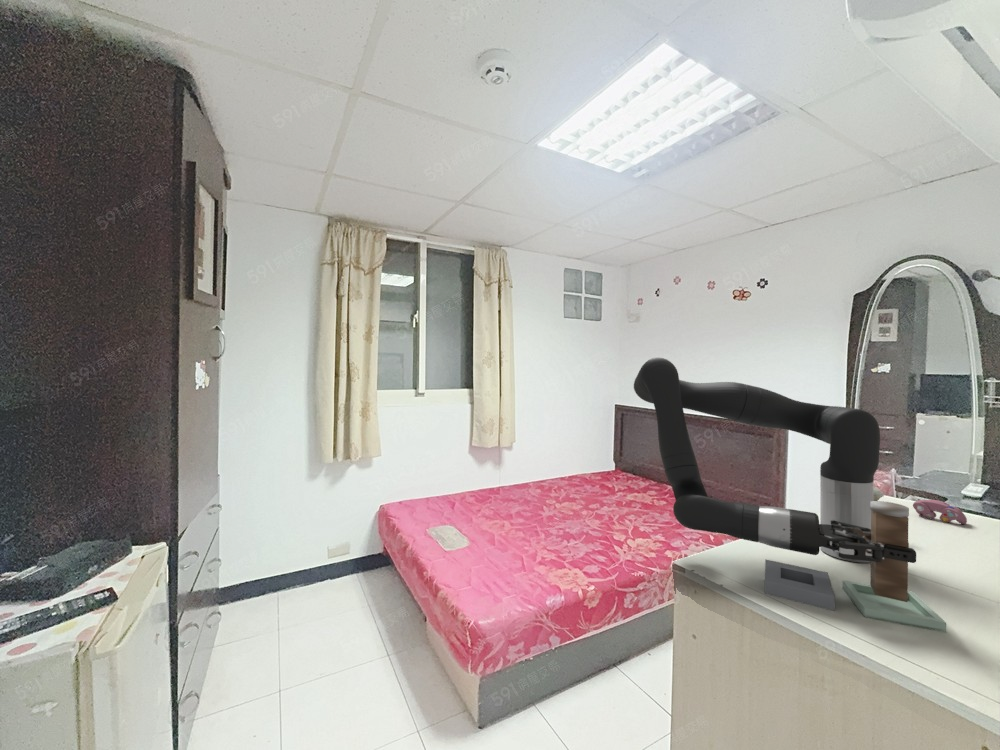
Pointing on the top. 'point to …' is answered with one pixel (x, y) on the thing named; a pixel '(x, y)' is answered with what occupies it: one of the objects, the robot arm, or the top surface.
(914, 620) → the sage green tray
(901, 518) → the dark wooden pin
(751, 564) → the top surface
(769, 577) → the charcoal holder
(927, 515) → the video game controller
